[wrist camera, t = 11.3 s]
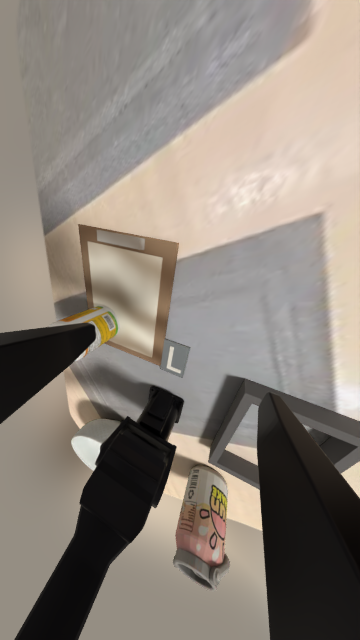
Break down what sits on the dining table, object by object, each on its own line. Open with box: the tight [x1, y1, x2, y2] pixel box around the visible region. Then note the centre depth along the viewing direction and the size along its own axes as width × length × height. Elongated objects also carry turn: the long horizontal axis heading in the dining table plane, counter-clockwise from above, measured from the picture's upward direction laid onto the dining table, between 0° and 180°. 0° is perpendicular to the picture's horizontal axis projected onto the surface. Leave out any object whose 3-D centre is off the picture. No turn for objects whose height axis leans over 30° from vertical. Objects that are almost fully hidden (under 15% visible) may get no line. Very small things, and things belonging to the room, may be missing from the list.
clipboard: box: [78, 224, 179, 366], centre depth 22 cm, size 18×14×2 cm
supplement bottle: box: [49, 306, 120, 361], centre depth 21 cm, size 5×5×10 cm
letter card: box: [160, 339, 190, 378], centre depth 24 cm, size 6×4×1 cm, turn 170°
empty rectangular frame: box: [208, 379, 360, 490], centre depth 22 cm, size 18×13×2 cm
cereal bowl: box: [72, 419, 121, 471], centre depth 36 cm, size 17×17×7 cm
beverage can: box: [173, 465, 230, 591], centre depth 28 cm, size 9×8×12 cm
